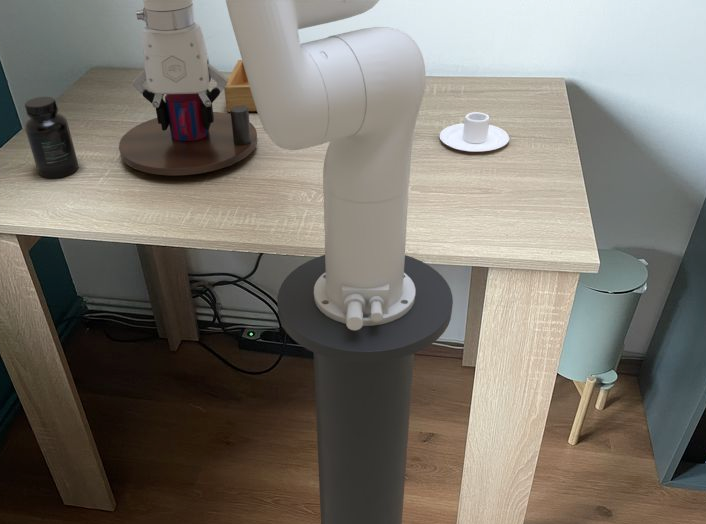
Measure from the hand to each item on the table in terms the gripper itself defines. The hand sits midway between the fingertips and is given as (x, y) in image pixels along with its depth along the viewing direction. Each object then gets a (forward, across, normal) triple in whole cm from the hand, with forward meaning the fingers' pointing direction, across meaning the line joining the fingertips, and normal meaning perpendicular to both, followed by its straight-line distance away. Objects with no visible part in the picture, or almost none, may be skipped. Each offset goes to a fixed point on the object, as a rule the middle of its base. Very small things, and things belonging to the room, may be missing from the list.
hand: (186, 126), depth 125 cm
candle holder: (+5, +50, +3) cm, 50 cm away
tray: (+5, +20, +24) cm, 32 cm away
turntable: (+3, 0, 0) cm, 3 cm away
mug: (+2, 0, 0) cm, 2 cm away
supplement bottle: (+5, -22, -6) cm, 23 cm away
